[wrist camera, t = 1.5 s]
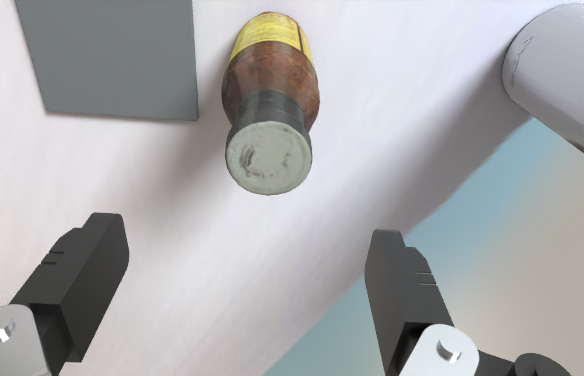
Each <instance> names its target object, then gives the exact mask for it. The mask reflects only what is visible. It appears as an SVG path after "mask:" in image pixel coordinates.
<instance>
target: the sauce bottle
mask: <svg viewBox="0 0 584 376" xmlns="http://www.w3.org/2000/svg"><path fill="white" fill-rule="evenodd" d="M221 95H222V104H223V108H224V111H225V113H226V115H227V118H228V119H229V121H230V123H231V124H232V126H233V127H232V128H231V130H230V132H229V134H228V137H227V142H226V153H225V159H226V165H227V168H228V170H229V173H230V174H231V176H232V178H233V179H234V180H235V181H236V182H237V183H238V185H239V186H241V187H242V188H244V189H245V190H247V191H250V192H252V193H256V194H261V195H267V196H269V195H278V194H282V193H286V192H289V191H291V190H292V189H294V188H296V187H297V186H299V185H300V184H301V183H302V182H303V181H304V179H305V178H306V177H307V175H308V173H309V171H310V168H311V164H312V147H311V140H310V136H309V134H308V133H309V131H310V129H311V127H312V125H313V123H314V121H315V120H316V117H317V115H318V111H319V105H320V98H319V90H318V80H317V75H316V71H315V67H314V64H313V60H312V56H311V53H310V49H309V45H308V41H307V38H306V36H305V34H304V32H303V30H302V29H301V27H299V26H298V24H297V22H296V21H295V20H293V19H292V18H290V17H289V16H287V15H284V14H281V13H274V12H263V13H262V14H259V15H258V16H256V17H254V18H252V19H251V20H249V21H248V22H247V23H246V24H245V25H244V26H243V28H242V29H241V30H240V32H239V34H238V36H237V39H236V42H235V45H234V48H233V51H232V53H231V56H230V59H229V62H228V65H227V68H226V71H225V75H224V78H223V83H222V94H221Z"/></svg>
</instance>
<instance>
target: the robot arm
mask: <svg viewBox="0 0 584 376" xmlns="http://www.w3.org/2000/svg"><path fill="white" fill-rule="evenodd" d="M502 80H503V85H504V88H505V90H506V92H507V94H508V96H509V97H510V98H511V99H512V100H513V101H514V102H515V103H517V104H518V105H519V106H521V107H522V108H523V109H525V110H526V111H528V112H529V113H530V114H532V115H533V116H534V117H535V118H537V119H538V120H539V121H541V122H543V123H544V124H545V125H546V126H548V127H549V128H550V129H552V130H553V131H554V132H556V133H557V134H558V135H560V136H561V137H562V138H564V139H565V140H566V141H568V142H569V143H571V144H572V145H573V146H575V147H576V148H577V149H579V150H580V151H581V152H583V153H584V4H578V3H574V4H566V5H561V6H558V7H555V8H552V9H550V10H548V11H546V12H544V13H543V14H541V15H539V16H538V17H536V18H535V19H534V20H532V21H531V22H530V23H529V24H527V25H526V26H525V28H524V29H523V30H522V31H521V32H520V33H519V34H518V35H517V37H516V38H515V40H514V41H513V42H512V44H511V45H510V48H509V50H508V52H507V54H506V56H505V60H504V64H503V69H502ZM128 263H129V248H128V243H127V238H126V233H125V228H124V223H123V219H122V216H121V215H120V214H113V213H93V214H91V216H90V217H89V218H88V220H87V221H86V223H85V224H84V225H83V227H82V228H73V229H72V230H70V231H69V232H67V233H66V234H65V235H63V236H62V237H60V238H59V239H58V240H57V242H56V243H55V244H54V246H53V247H52V248H51V249H50V251H49V254H47V255H46V256H45V257H44V259H43V260H42V261H41V265H40V264H39V265H38V266H37V268H36V269H35V270H34V272H33V273H32V274H31V276H30V277H29V278H28V280H27V281H26V282H25V283H24V285H23V286H22V287H21V289H20V290H19V291H18V293H17V294H16V295H15V297H14V298H13V299H12V300H11V302H10V303H9V304H8V305H4V306H0V376H59V373H60V371H61V369H62V367H63V365H64V363H65V362H82V360H83V357H84V355H85V353H86V351H87V349H88V347H89V345H90V343H91V341H92V339H93V337H94V335H95V333H96V331H97V329H98V327H99V325H100V323H101V321H102V319H103V317H104V315H105V313H106V311H107V309H108V307H109V304H110V302H111V300H112V298H113V296H114V294H115V292H116V290H117V288H118V286H119V284H120V282H121V280H122V278H123V276H124V274H125V272H126V270H127V267H128ZM365 283H366V288H367V293H368V298H369V302H370V307H371V311H372V316H373V320H374V325H375V330H376V334H377V339H378V344H379V348H380V352H381V357H382V362H383V367H384V371H385V376H571V375H570V374H569V372H567V371H566V370H565V369H564V368H563V367H562V366H561V365H560V364H558V363H557V362H555V361H553V360H551V359H550V358H548V357H545V356H543V355H540V354H535V353H526V354H523V355H520V356H519V357H518V358H517V359H516V361H515V362H514V363H513V362H511V361H508V360H505V359H502V358H499V357H496V356H492V355H489V354H487V353H484V352H481V351H480V350H478V349H477V348H476V346H475V344H474V343H473V341H472V340H471V339H470V338H469V337H468V336H467V335H466V334H464V333H463V332H462V331H460V330H458V329H456V328H455V327H454V324H453V322H452V320H451V317H450V315H449V313H448V310H447V308H446V306H445V303H444V301H443V298H442V296H441V294H440V292H439V289H438V287H437V286H436V282H435V279H434V277H433V275H431V270H430V268H429V265H428V263H427V261H426V259H425V258H424V257H423V256H422V255H421V254H420V252H419V251H418V250H417V249H415V247H414V248H413V247H405V244H404V241H403V239H402V236H401V233H400V232H399V231H396V230H378V229H376V230H374V232H373V236H372V240H371V244H370V248H369V252H368V256H367V260H366V264H365Z"/></svg>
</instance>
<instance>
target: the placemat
mask: <svg viewBox="0 0 584 376" xmlns="http://www.w3.org/2000/svg"><path fill="white" fill-rule="evenodd" d="M15 1H16V4H17V8H18V11H19V15H20V18H21V22H22V25H23V29H24V33H25V36H26V40H27V43H28V47H29V50H30V54H31V57H32V61H33V64H34V68H35V71H36V75H37V78H38V82H39V86H40V89H41V93H42V96H43V100H44V103H45V107H46V110H47V111H59V112H73V113H88V114H102V115H116V116H131V117H145V118H159V119H174V120H188V121H197V120H198V118H199V113H198V95H197V78H196V61H195V44H194V27H193V9H192V0H15Z"/></svg>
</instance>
